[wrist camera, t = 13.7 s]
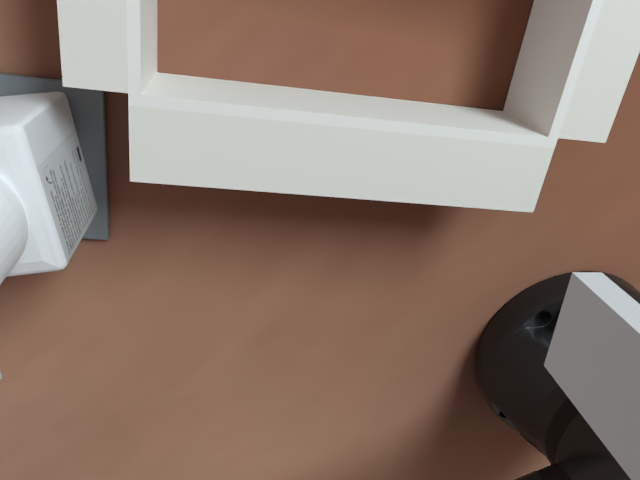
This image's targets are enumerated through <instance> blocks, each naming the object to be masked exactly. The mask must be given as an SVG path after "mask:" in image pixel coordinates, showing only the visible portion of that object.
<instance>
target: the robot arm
mask: <svg viewBox="0 0 640 480" xmlns="http://www.w3.org/2000/svg"><path fill="white" fill-rule="evenodd" d="M475 375H476V379H477V383H478V385H479V387H480V389H481V391H482V393H483V395H484V396H485V398H486V400H487V402H488V403H489V405H490V407H491V408H492V410H493V411H494V412H495V413H496V414H497V416H498V417H499V418H500V419H501V420H503V421H504V422H505V423H506V424H508V425H509V426H511V427H512V428H514V429H516V430H517V431H518V432H519V433H520V434H521V435H522V436H523V437H524V438H525V439H526V440H527V441H528V442H529V443H530V444H532V445H533V446H534V447H535V448H536V449H538V450H539V451H540V452H541V453H542V454H544V455H545V456H546V457H547V459H548V460H549V462H550V463H551V465H550V466H548V467H545V468H543V469H540V470H538V471H534V472H532V473H530V474H527V475H525V476H522V477H520V478H517V479H515V480H640V292H639V291H638V290H636V289H635V288H634V287H633V286H632V285H630V284H629V283H628V282H626V281H624V280H623V279H621V278H619V277H617V276H614V275H611V274H607V273H602V272H594V271H582V272H572V273H567V274H563V275H559V276H555V277H552V278H549V279H547V280H544V281H542V282H540V283H538V284H536V285H534V286H532V287H530V288H528V289H527V290H525V291H523V292H522V293H520V294H519V295H518V296H516V297H515V298H514V299H512V300H511V301H510V302H509V303H508V304H506V305H505V306H504V307H503V308H502V309H501V310H500V311H499V312H498V314H497V315H496V316H495V317H494V318H493V320H492V321H491V322H490V324H489V325H488V327H487V328H486V330H485V332H484V334H483V335H482V338H481V340H480V342H479V345H478V348H477V352H476V357H475ZM1 378H2V377H1V373H0V379H1Z"/></svg>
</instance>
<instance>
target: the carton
mask: <svg viewBox="0 0 640 480" xmlns="http://www.w3.org/2000/svg"><path fill="white" fill-rule="evenodd" d="M57 12H58V26H59V40H60V55H61V69H62V83H63V87H72V88H81V89H91V90H101V91H110V92H120V93H128V111H129V164H130V182H142V183H155V184H168V185H182V186H195V187H208V188H221V189H234V190H247V191H260V192H273V193H286V194H299V195H312V196H325V197H338V198H351V199H364V200H377V201H390V202H403V203H417V204H430V205H443V206H456V207H469V208H482V209H495V210H508V211H521V212H534V209H535V206H536V203H537V200H538V197H539V194H540V191H541V188H542V185H543V182H544V179H545V176H546V173H547V170H548V167H549V164H550V161H551V158H552V155H553V152H554V149H555V146H556V143H557V140H558V138H563V139H572V140H582V141H592V142H601V143H606V140H607V137H608V135H609V132H610V129H611V127H612V124H613V121H614V119H615V116H616V113H617V111H618V108H619V105H620V103H621V100H622V97H623V95H624V92H625V89H626V87H627V84H628V81H629V79H630V76H631V73H632V71H633V68H634V65H635V62H636V60H637V57H638V54H639V52H640V0H534V2H533V6H532V9H531V13H530V17H529V20H528V24H527V27H526V31H525V34H524V38H523V41H522V45H521V49H520V52H519V56H518V59H517V63H516V66H515V70H514V73H513V77H512V80H511V84H510V88H509V91H508V95H507V98H506V102H505V105H504V109H503V111H499V110H490V109H481V108H472V107H463V106H454V105H445V104H436V103H427V102H418V101H409V100H400V99H391V98H382V97H373V96H364V95H355V94H346V93H337V92H328V91H319V90H310V89H301V88H292V87H283V86H274V85H265V84H256V83H247V82H238V81H229V80H220V79H211V78H202V77H193V76H184V75H175V74H166V73H157V0H57Z"/></svg>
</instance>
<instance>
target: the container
mask: <svg viewBox="0 0 640 480" xmlns="http://www.w3.org/2000/svg"><path fill="white" fill-rule="evenodd" d="M96 213H97V204H96V201H95V197H94V193H93V190H92V186H91V183H90V179H89V175H88V172H87V168H86V165H85V161H84V157H83V154H82V150H81V147H80V143H79V139H78V136H77V132H76V128H75V125H74V121H73V118H72V114H71V110H70V107H69V103H68V100H67V97H66V95H65V94H64V93H63V92H58V91H56V92H45V93H34V94H23V95H12V96H1V97H0V285H1V283H2V282H3V281H4V279H5V278H6V277H9V276H17V275H26V274H34V273H43V272H51V271H60V270H62V269H64V268H65V267H66V266H67V264H68V263H69V261H70V259H71V257H72V255H73V254H74V252H75V250H76V248H77V247H78V245H79V243H80V241H81V239H82V238H83V236H84V234H85V232H86V231H87V229H88V227H89V225H90V223H91V222H92V220H93V218H94V216H95V215H96Z"/></svg>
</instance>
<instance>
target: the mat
mask: <svg viewBox="0 0 640 480" xmlns="http://www.w3.org/2000/svg"><path fill="white" fill-rule="evenodd" d="M56 91H58V92H63V93H64V94H65V95H66V97H67V100H68V103H69V107H70V110H71V114H72V118H73V121H74V125H75V128H76V132H77V136H78V139H79V143H80V147H81V150H82V154H83V157H84V161H85V165H86V168H87V172H88V175H89V179H90V183H91V186H92V190H93V193H94V197H95V201H96V204H97V213H96V215H95V216H94V218H93V220H92V222H91V223H90V225H89V227H88V229H87V231H86V232H85V234H84V236H83V238H84V239H101V240H108V239H109V237H110V230H109V204H108V177H107V151H106V124H105V98H104V91H101V90H91V89H81V88H72V87H63V83H62V80H61V79H52V78H42V77H33V76H23V75H14V74H5V73H0V97H1V96H12V95H23V94H34V93H45V92H56Z"/></svg>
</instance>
